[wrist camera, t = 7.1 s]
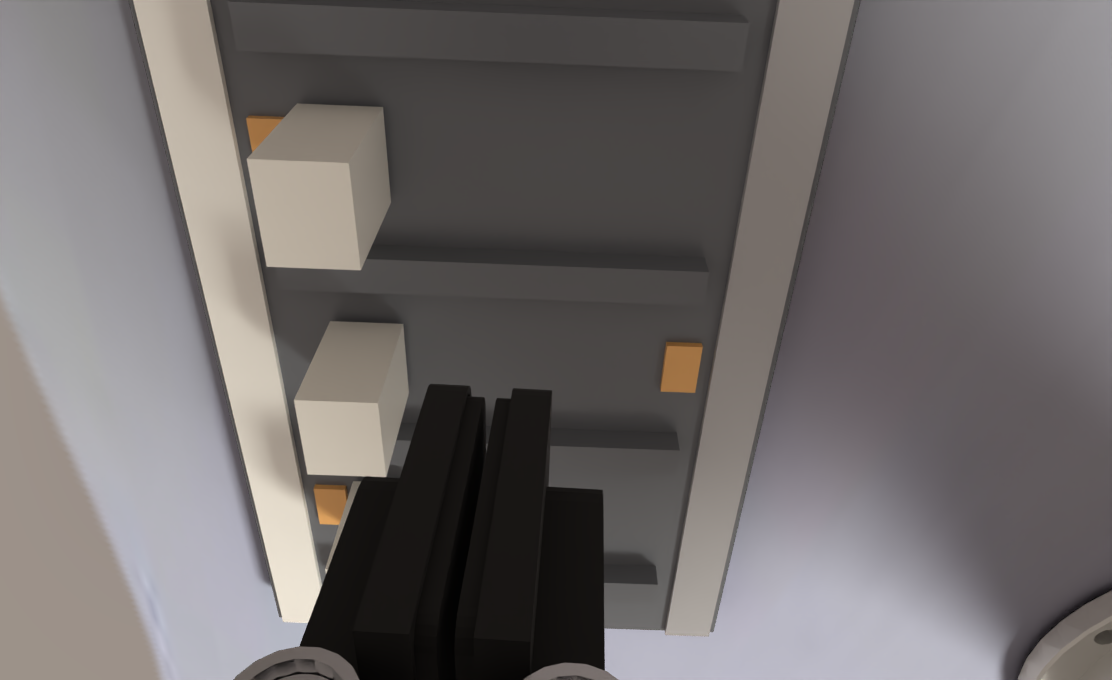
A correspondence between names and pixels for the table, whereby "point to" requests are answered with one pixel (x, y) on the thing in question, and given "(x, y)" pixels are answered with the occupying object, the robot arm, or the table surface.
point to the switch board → (521, 243)
